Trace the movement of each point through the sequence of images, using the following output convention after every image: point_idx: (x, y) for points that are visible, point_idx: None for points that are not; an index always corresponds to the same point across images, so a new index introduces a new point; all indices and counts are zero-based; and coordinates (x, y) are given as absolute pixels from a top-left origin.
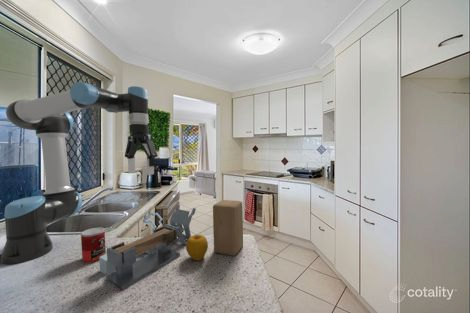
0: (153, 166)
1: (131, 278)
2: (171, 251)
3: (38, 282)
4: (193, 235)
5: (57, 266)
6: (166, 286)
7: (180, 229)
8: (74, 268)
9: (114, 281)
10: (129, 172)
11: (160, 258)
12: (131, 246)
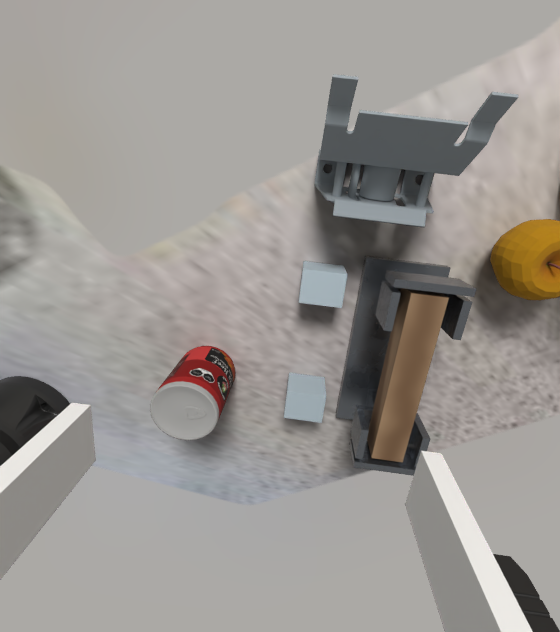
0: (478, 534)
1: None
2: (415, 270)
3: (210, 460)
4: (536, 257)
5: None
6: (492, 380)
7: (430, 212)
8: None
9: None
10: (90, 466)
11: None
12: (405, 432)
